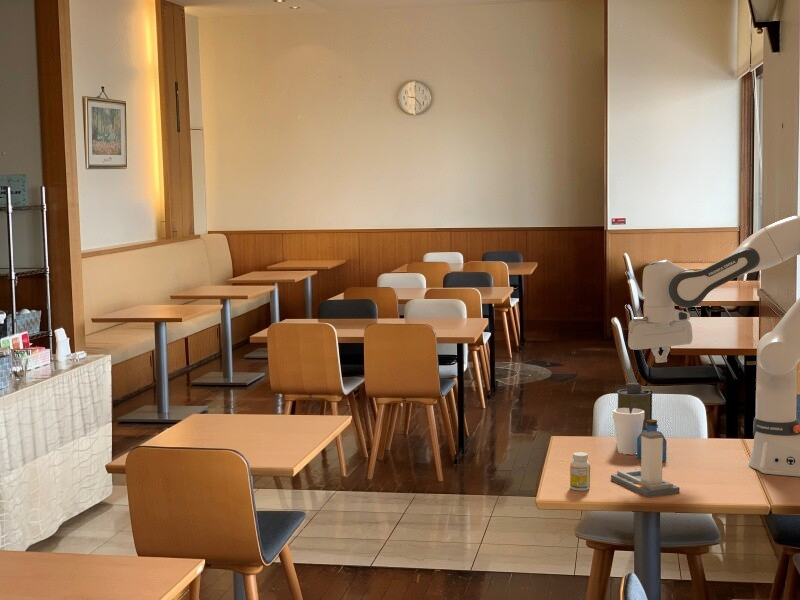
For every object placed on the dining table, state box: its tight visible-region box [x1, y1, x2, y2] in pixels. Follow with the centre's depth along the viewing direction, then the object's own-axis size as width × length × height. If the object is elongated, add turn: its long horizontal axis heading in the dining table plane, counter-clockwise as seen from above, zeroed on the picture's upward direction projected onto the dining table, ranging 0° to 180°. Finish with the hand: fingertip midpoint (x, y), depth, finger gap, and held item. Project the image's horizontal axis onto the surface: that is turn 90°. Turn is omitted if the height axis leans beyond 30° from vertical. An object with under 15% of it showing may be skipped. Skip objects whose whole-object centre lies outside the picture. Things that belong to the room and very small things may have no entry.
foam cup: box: [612, 407, 644, 455], centre depth 319 cm, size 10×9×13 cm
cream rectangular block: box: [640, 431, 664, 485], centre depth 279 cm, size 4×4×14 cm
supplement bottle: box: [569, 451, 591, 492], centre depth 282 cm, size 5×5×10 cm
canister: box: [616, 382, 653, 431], centre depth 327 cm, size 11×10×20 cm
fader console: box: [610, 468, 681, 498], centre depth 283 cm, size 18×10×2 cm, turn 20°
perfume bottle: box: [636, 418, 668, 462], centre depth 310 cm, size 6×6×12 cm
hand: (661, 362), depth 305 cm, fingers closed
